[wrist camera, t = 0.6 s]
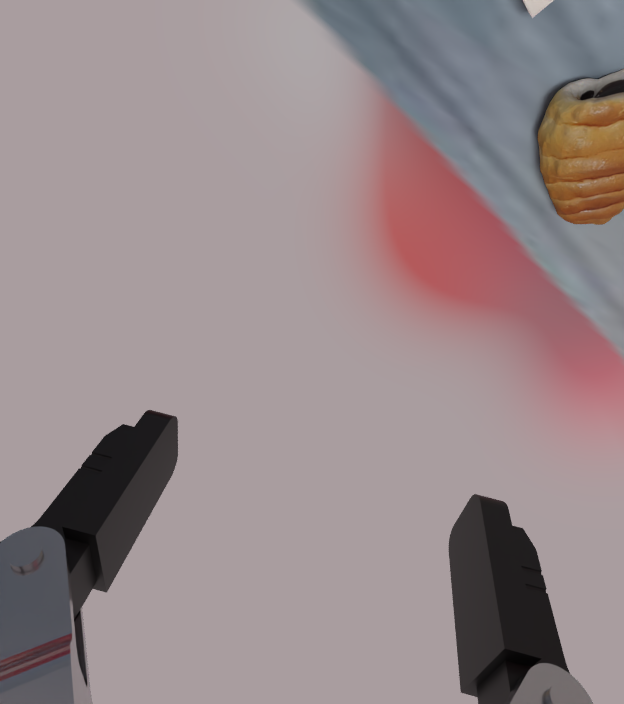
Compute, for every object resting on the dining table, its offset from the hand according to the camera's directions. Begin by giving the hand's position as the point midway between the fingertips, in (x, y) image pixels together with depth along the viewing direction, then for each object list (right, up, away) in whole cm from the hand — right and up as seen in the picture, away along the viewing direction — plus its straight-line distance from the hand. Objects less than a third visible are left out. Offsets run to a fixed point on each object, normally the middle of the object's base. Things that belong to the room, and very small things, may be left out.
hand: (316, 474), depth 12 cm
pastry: (+18, +17, +17) cm, 30 cm away
